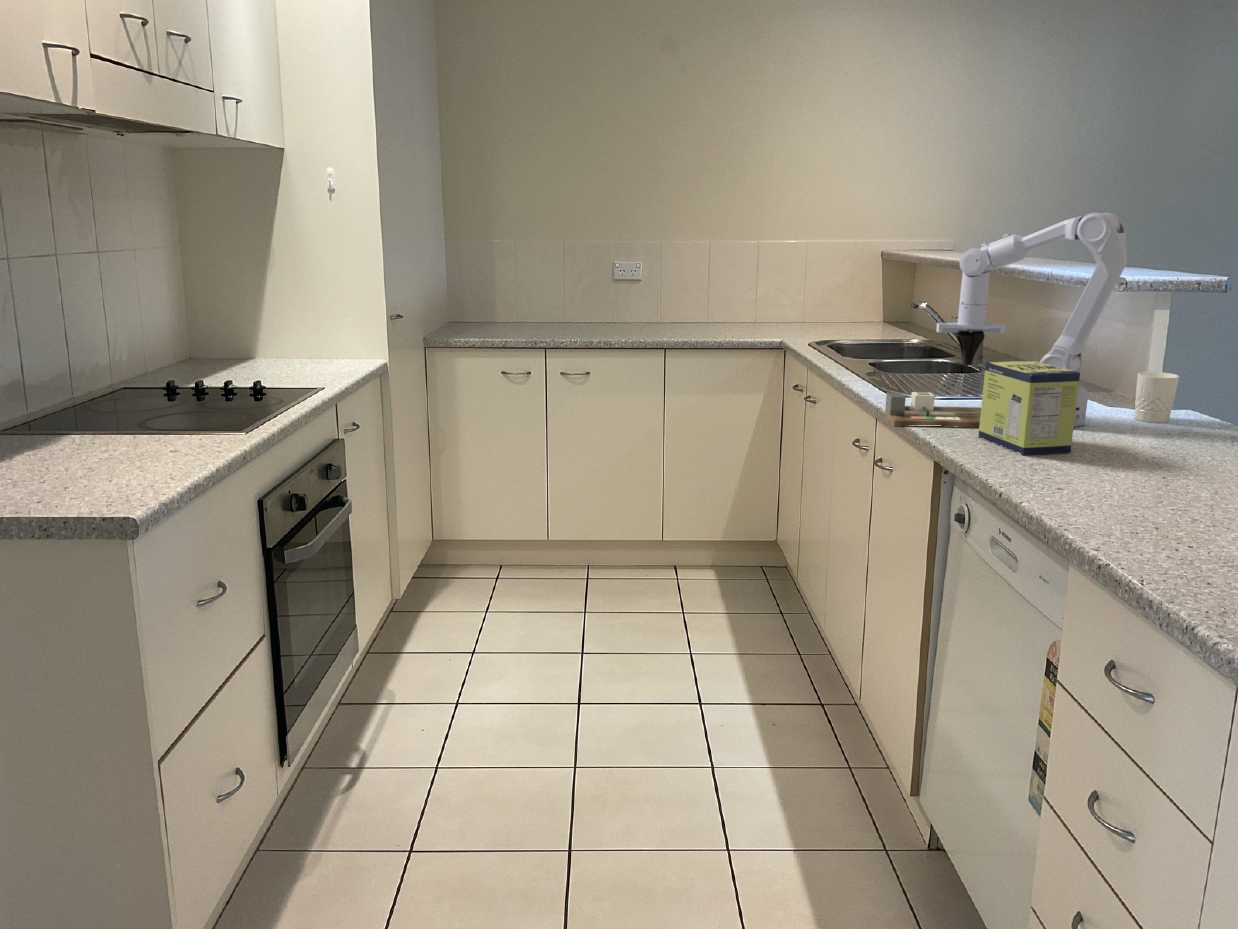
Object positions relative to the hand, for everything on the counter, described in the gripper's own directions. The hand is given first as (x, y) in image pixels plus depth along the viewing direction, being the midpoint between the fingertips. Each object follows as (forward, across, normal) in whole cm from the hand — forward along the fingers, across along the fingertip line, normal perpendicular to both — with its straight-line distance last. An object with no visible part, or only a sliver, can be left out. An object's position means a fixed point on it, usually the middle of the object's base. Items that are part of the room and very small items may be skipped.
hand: (967, 364), depth 219 cm
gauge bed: (+10, +8, +13) cm, 18 cm away
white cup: (+11, -39, +7) cm, 41 cm away
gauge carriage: (+9, +12, +12) cm, 19 cm away
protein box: (+11, -3, +33) cm, 35 cm away
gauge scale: (+9, +10, +16) cm, 21 cm away
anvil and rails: (+9, +8, +10) cm, 16 cm away
